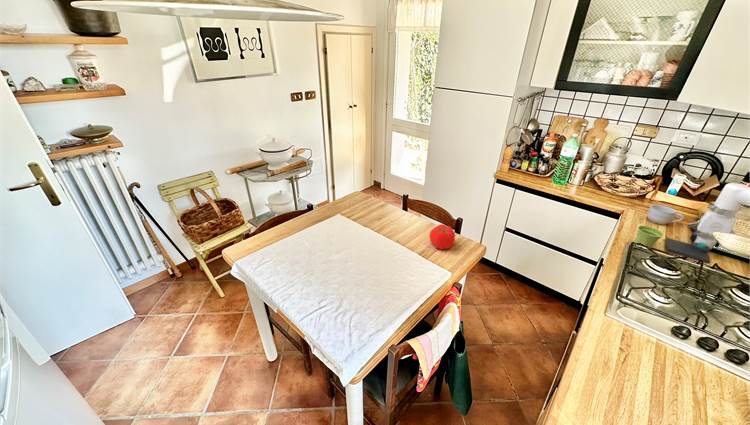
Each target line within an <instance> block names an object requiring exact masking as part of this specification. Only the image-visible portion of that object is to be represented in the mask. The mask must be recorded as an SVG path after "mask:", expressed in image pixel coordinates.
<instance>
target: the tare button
mask: <svg viewBox="0 0 750 425" xmlns="http://www.w3.org/2000/svg"><path fill="white" fill-rule="evenodd" d="M697 246H698V247H700V248H704V249H705V248H706V247H707V244H705V243H702V242H699V243H698V244H697Z"/></svg>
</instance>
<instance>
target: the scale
mask: <svg viewBox="0 0 750 425" xmlns="http://www.w3.org/2000/svg"><path fill="white" fill-rule="evenodd" d="M664 240H665V248H666V252H667V253H671V254H674V255H678V256H682V257H685V258H688V259H692V260H695V261H699V260H700V259H703V262H702V263H706V264H710V262H711V259H710V256H709V253H710V251H711V250H712V249H710V247H708V246H707V247H706V248H705V249H704V248H700V247H698V246H697V244H698V243H692V242H691V243H690V242H689V243H688V242H685V241H681V240H677V239H674V238H669V237H666V238H665V239H664Z"/></svg>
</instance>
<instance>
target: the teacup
mask: <svg viewBox="0 0 750 425" xmlns="http://www.w3.org/2000/svg"><path fill="white" fill-rule="evenodd" d="M677 216H678V217H680V218H679V219H675V218H676V217H677ZM646 217H647V218H648V220H649V221H650V222H652V223H654V224H658V225H666V224H672V223H678V222H679V223H680V222H682V221H683V220H684V218H685V217H684V215H683V214H682V213H678V211H677V210H676V209H674V208H672V207H670V206H666V205H661V204H651V205H650V207H649V209H648V211H647V214H646Z"/></svg>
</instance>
